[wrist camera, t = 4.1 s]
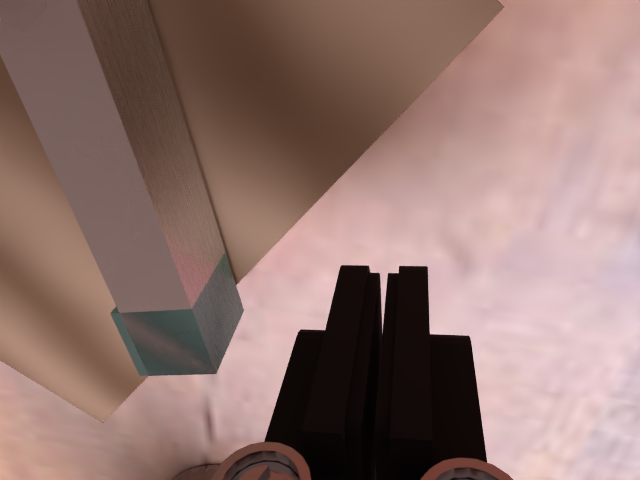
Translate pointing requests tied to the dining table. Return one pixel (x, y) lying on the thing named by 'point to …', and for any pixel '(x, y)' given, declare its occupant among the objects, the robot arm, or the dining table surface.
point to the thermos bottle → (198, 473)
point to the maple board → (216, 156)
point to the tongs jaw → (127, 173)
